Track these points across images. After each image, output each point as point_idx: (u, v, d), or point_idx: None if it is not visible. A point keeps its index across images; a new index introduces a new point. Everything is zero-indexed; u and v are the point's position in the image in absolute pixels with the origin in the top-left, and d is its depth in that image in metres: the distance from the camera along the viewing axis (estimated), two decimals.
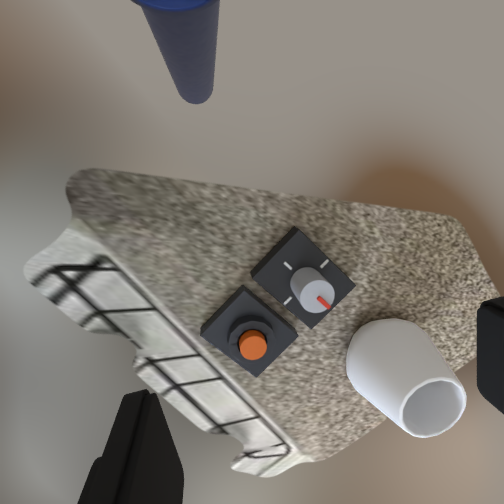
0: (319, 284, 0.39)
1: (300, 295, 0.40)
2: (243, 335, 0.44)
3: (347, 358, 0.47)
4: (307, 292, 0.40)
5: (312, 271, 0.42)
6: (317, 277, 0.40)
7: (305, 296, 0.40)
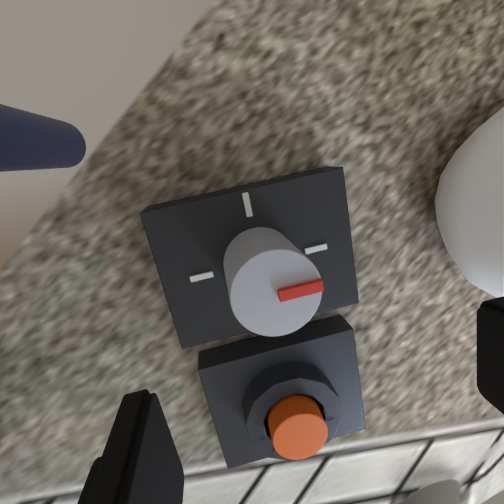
0: (250, 274, 0.15)
1: (246, 328, 0.15)
2: (269, 429, 0.21)
3: (467, 279, 0.21)
4: (250, 310, 0.15)
5: (234, 248, 0.17)
6: (237, 263, 0.15)
7: (256, 319, 0.15)
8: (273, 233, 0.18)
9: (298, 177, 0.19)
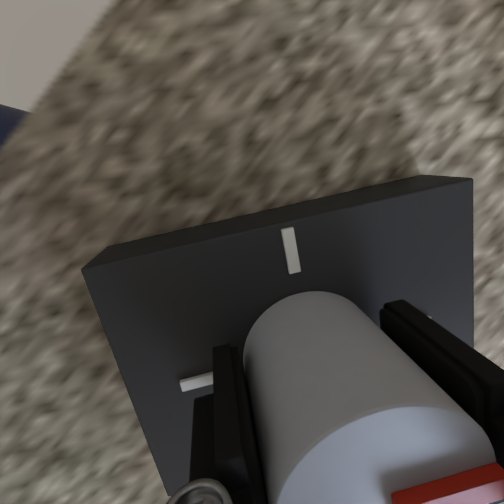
0: (327, 468, 0.06)
1: None
2: None
3: None
4: None
5: (270, 347, 0.08)
6: (287, 420, 0.06)
7: None
8: (347, 314, 0.09)
9: (389, 197, 0.10)
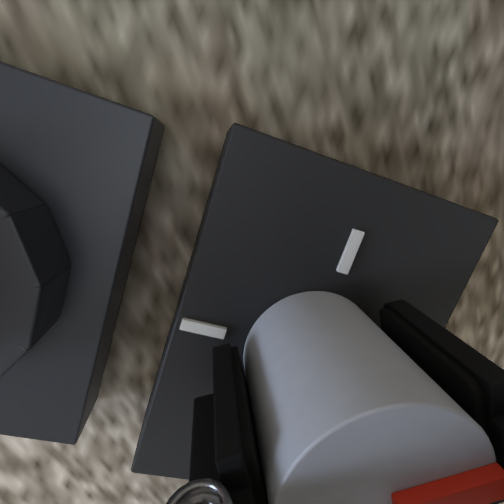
0: (327, 468, 0.06)
1: None
2: None
3: None
4: None
5: (270, 347, 0.08)
6: (287, 420, 0.06)
7: None
8: (348, 313, 0.09)
9: None
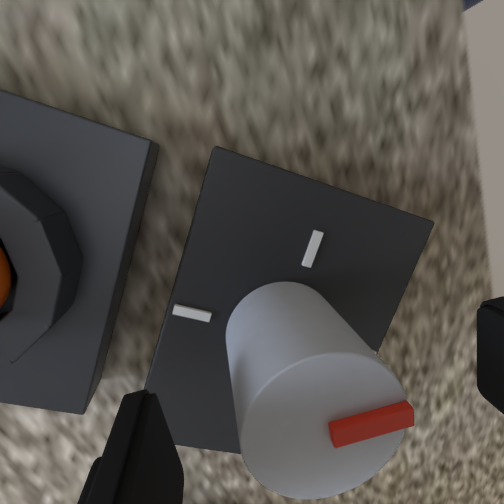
0: (280, 400, 0.08)
1: (269, 489, 0.08)
2: None
3: None
4: (276, 460, 0.08)
5: (245, 323, 0.11)
6: (253, 370, 0.08)
7: (287, 474, 0.08)
8: (308, 298, 0.11)
9: None
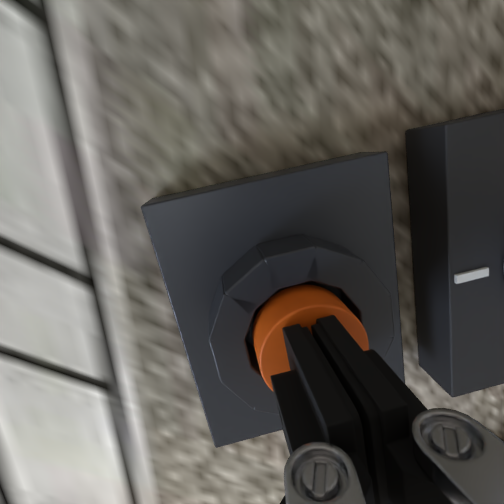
0: None
1: None
2: (299, 290, 0.11)
3: None
4: None
5: None
6: None
7: None
8: None
9: None
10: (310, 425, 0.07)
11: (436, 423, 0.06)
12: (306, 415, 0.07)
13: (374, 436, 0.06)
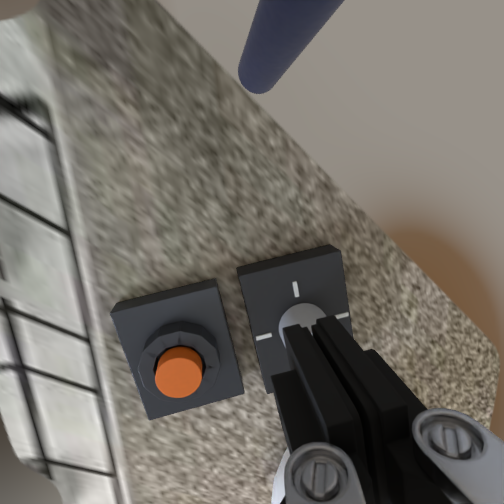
0: None
1: None
2: (175, 350, 0.26)
3: None
4: None
5: None
6: None
7: None
8: (302, 311, 0.27)
9: None
10: (310, 425, 0.07)
11: (436, 423, 0.06)
12: (306, 415, 0.07)
13: (374, 436, 0.06)
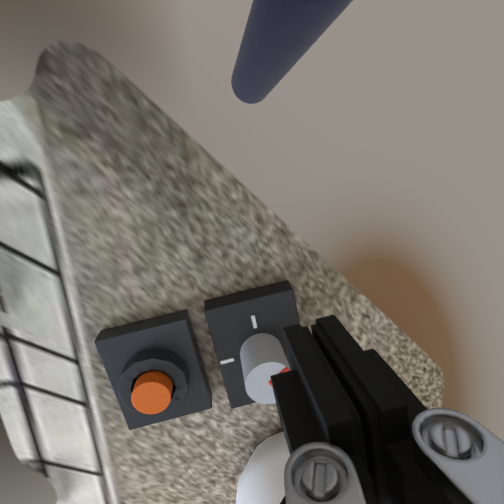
0: (252, 382, 0.29)
1: None
2: (148, 374, 0.31)
3: (250, 465, 0.36)
4: (261, 396, 0.29)
5: (242, 360, 0.31)
6: (244, 376, 0.29)
7: (266, 398, 0.29)
8: (257, 342, 0.31)
9: None
10: (310, 425, 0.07)
11: (436, 423, 0.06)
12: (306, 415, 0.07)
13: (374, 436, 0.06)
